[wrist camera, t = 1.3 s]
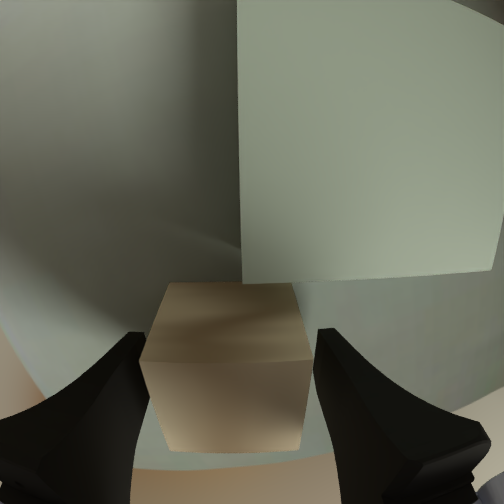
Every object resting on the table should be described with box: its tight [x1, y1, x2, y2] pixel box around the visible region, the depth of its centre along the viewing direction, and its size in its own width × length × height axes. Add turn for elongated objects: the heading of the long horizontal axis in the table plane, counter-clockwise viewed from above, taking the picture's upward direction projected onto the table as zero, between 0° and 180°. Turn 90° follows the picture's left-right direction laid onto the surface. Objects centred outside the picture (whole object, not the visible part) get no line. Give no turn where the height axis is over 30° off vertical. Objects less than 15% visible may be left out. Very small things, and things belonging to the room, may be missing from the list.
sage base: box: [237, 0, 504, 284], centre depth 8 cm, size 9×9×2 cm
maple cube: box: [139, 281, 314, 453], centre depth 11 cm, size 4×4×4 cm
